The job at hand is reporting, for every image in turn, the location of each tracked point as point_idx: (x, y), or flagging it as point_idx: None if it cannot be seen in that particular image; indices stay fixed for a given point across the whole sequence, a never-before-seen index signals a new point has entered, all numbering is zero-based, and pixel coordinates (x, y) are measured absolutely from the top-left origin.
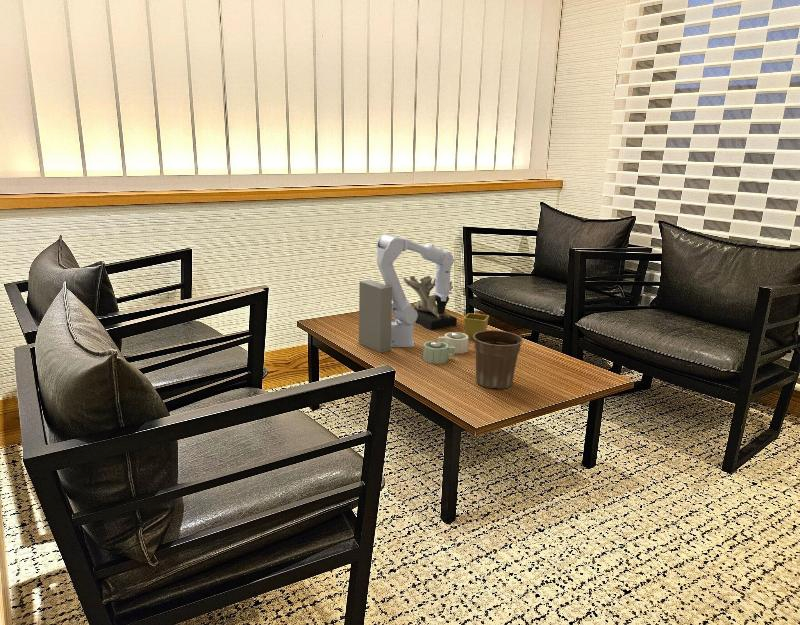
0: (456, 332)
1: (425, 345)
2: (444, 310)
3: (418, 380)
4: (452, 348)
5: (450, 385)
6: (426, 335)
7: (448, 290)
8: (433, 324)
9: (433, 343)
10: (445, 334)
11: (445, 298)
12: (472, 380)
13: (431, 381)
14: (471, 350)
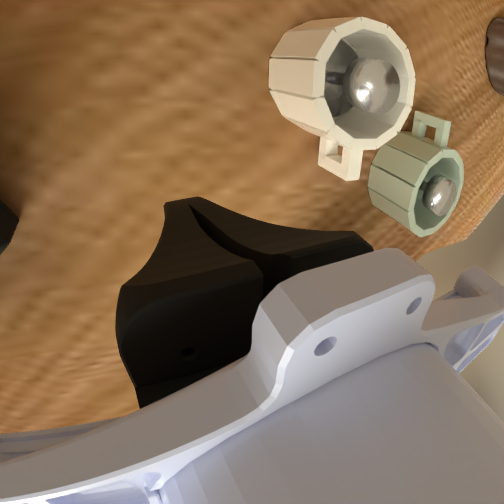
0: (366, 83)
1: (433, 229)
2: (218, 206)
3: (469, 211)
4: (447, 129)
5: (494, 150)
6: (115, 229)
7: (469, 388)
8: (2, 226)
9: (448, 207)
10: (349, 145)
11: (495, 291)
12: (492, 97)
13: (478, 186)
14: (333, 6)
